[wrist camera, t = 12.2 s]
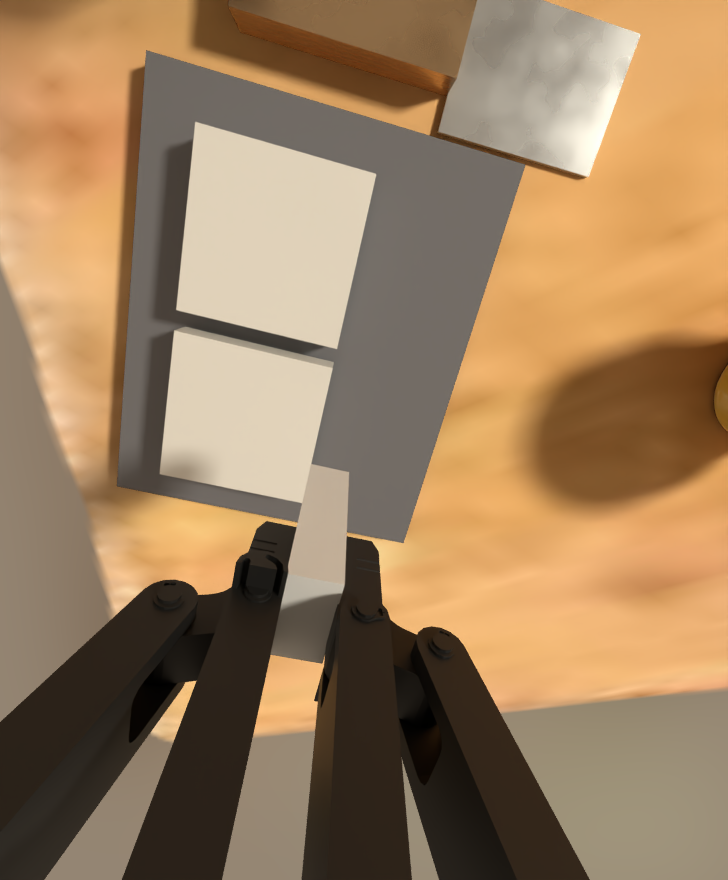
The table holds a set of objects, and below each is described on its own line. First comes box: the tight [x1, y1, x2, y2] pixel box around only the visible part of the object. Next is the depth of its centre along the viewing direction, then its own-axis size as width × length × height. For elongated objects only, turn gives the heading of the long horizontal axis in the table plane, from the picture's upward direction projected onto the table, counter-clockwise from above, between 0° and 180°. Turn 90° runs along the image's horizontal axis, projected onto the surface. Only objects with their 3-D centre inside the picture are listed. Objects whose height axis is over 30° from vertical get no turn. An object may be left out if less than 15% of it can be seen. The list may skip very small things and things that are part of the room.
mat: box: [117, 50, 525, 543], centre depth 26 cm, size 22×18×1 cm
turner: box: [228, 0, 641, 178], centre depth 21 cm, size 18×6×2 cm, turn 76°
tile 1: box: [176, 122, 376, 349], centre depth 22 cm, size 8×2×8 cm
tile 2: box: [160, 327, 334, 503], centre depth 25 cm, size 8×2×8 cm
